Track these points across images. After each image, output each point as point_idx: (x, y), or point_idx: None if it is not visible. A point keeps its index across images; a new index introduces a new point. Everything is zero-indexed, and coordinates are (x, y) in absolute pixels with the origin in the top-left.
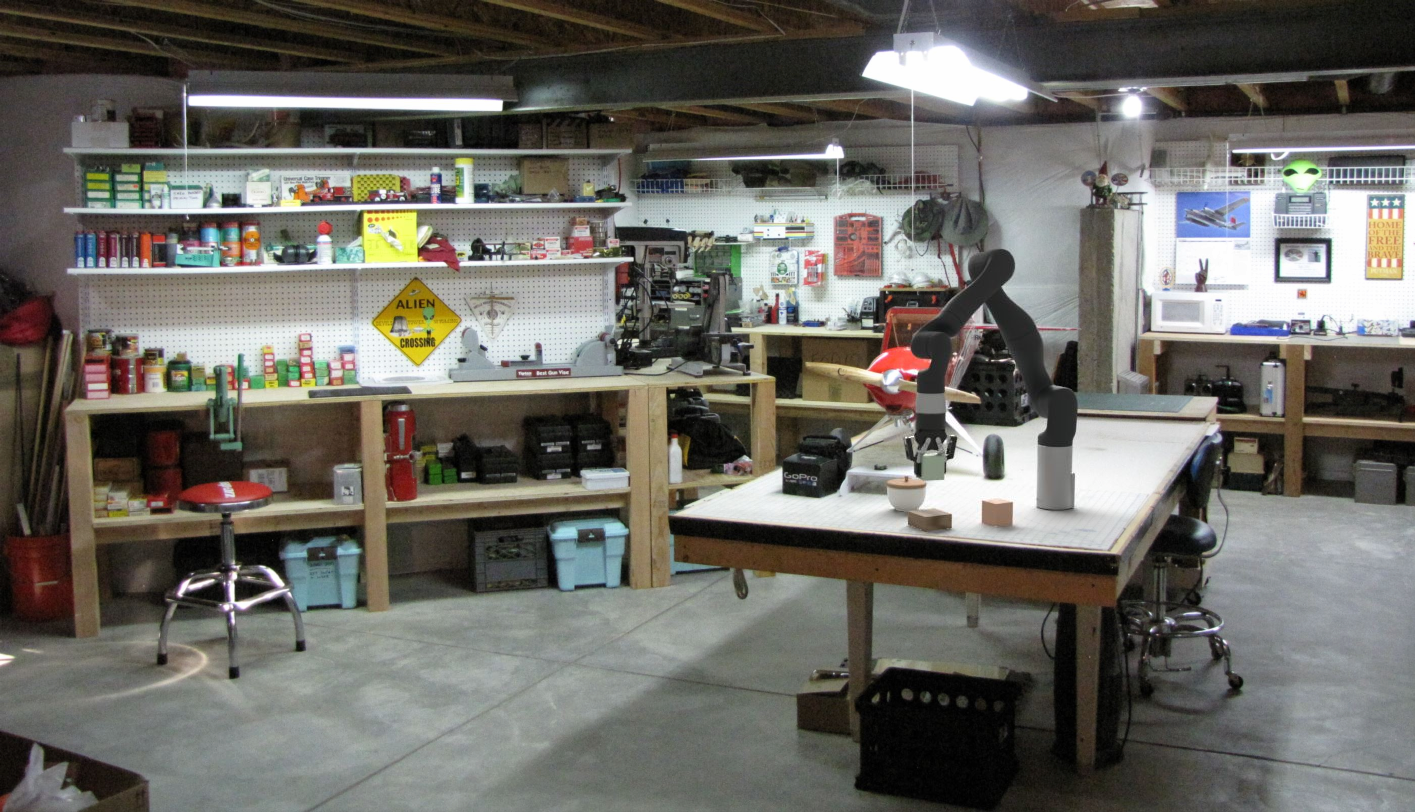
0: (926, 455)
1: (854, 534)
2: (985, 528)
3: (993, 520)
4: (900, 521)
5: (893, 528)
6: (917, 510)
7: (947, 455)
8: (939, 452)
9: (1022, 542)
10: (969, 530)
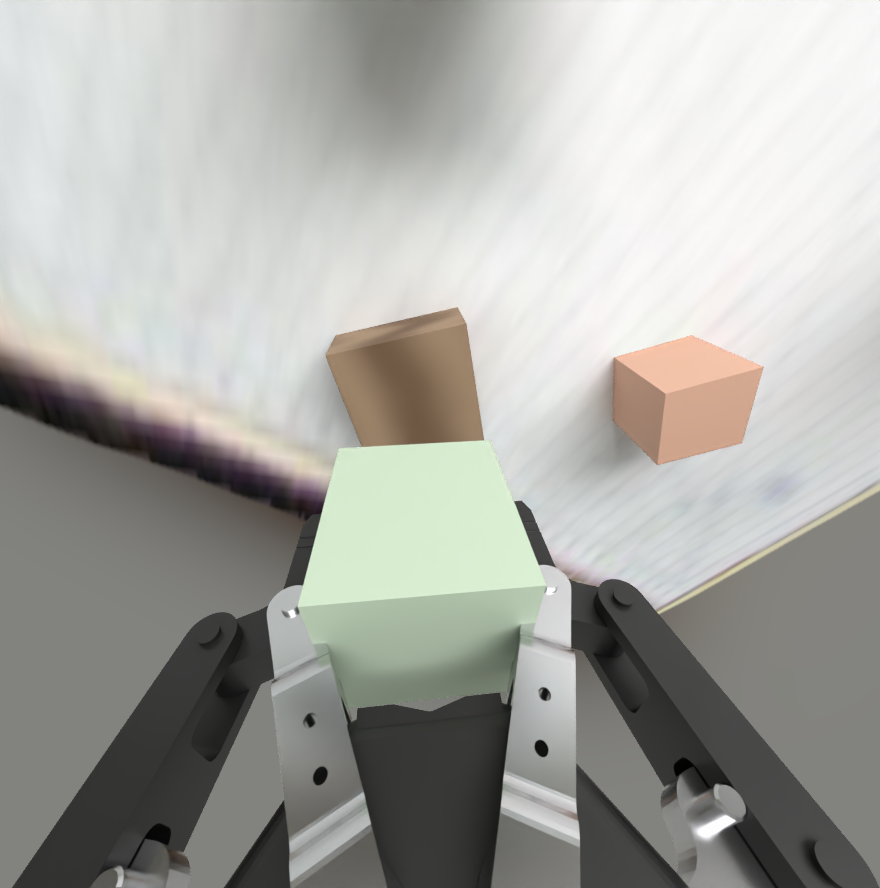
0: (387, 665)
1: (117, 435)
2: (572, 432)
3: (623, 421)
4: (318, 247)
5: (269, 375)
6: (373, 351)
7: (577, 648)
8: (506, 699)
9: (558, 560)
10: (513, 447)
